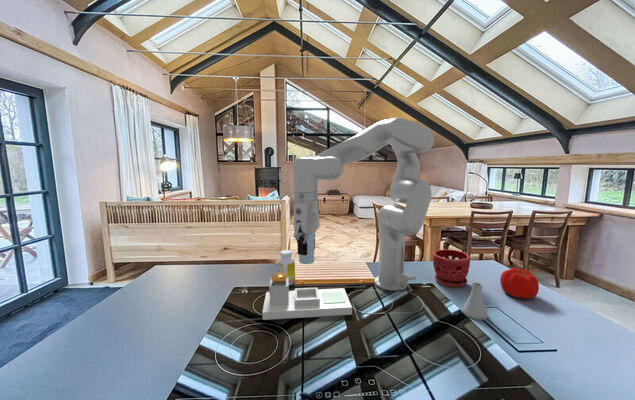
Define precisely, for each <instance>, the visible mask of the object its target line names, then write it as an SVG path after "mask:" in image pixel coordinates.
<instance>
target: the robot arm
mask: <svg viewBox="0 0 635 400" xmlns="http://www.w3.org/2000/svg"><path fill="white" fill-rule="evenodd" d="M434 143H435V138H434V134H433V132H432V131H431V130H430V129H429V128H428V127H425V126H423V125H421V124H418V123H416V122H414V121H412V120H409V119H407V118H403V117H392V118H389V119H383V120H380V121H378V122H376V123H373V125H371V126H369V127H367V128H365V129H364V130H362V131H361V132H359V133H357V134H356V135H354V136H352V137H351V138H347V139H346V140H344V141H342V142H340V143H338V144H336V145H334V146H332V147H329V148H327V149H325V150H324V151H322V152H320V153H319V154H318V155H316V156H314V157H307V156H306V157H296V158H294V160H293V165H292V171H293V202H294V206H293V231H294V232H293V237H294V238H295V240H296V243H297V254H298V256H299V255H307V243H306V237H307V235H308V234H310V233H312V232H314V250H315V249H316V235H317V234H316V232H317V230H318V229H319V228H320V210H319V203H318V201H319V200H318V199H319V195H318V188H319V187H318V180H323V181H324V180H325V181H335V180H337V179H339V178H340V177H341V176H342V174H343V172H344V165H346V164H347V165H348V164H351V163H357V162H359V161H363V160H365V159H367V158H368V157H370V156H372V155H373V154H375V153H376V152H378V151H380V150H381V149H382V148H384V147H385V146H388V145H390V146H391V149H392V151H393V152H394V154H395V157H396V161H397V164H396V165H397V166H396V170H395V173H394V176H393V180H392V182H391V186H390V189H389V198H390V199H391V200H392V201H394V202H396V203H400V204H405V206H400V205H396V204H386V205H384V206H381V208H380V209H379V210H378V213H377V224H378V230H379V245H378V246H379V248H378V250H379V252H378V275H377V276H376V277H375V278H374V285H375V286H376V287H377V288H380V289H381V290H385V291H390V292H400V291H404V290H406V289H407V287H408V281H416V280H417V279H416V277H417V276H416V275H415V274H410V273H409V272H406V273H404V272H405V269H404V268H405V252H406V250H405V249H406V248H405V247H406V240H405V239H406V238H405V235H406V236H415V235H417V234H418V233H420V230H421V229H422V227H423V225H424V222H425V219H426V216H427V212H428V210H429V206H430V203H431V200H432V196H433V195H432V188H431V185H430V184H429V183H428V182H427V181H426V180H424V179H418V178H419V175H420V171H421V164H420V160H419V158H418V156H417V154H421V153H426V152H428V151H429V150H431V148H432V147H433V146H434ZM300 231H303V233H300ZM300 235H304V236H303V237H302V236H300Z"/></svg>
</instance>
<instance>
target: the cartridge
mask: <svg viewBox="0 0 635 400" xmlns="http://www.w3.org/2000/svg"><path fill="white" fill-rule="evenodd" d="M300 233H303V231H300ZM300 236H302V237H303V236H304V235H300ZM306 243H307V255H299V254H298V262H299V263H300V264H303V265H310V264H313V263H314V262H315V249H314V232H312V233H310V234H308V235H307V237H306Z"/></svg>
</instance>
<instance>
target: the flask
mask: <svg viewBox="0 0 635 400" xmlns="http://www.w3.org/2000/svg"><path fill="white" fill-rule="evenodd" d="M470 286H471V290H470V291H471V292H470V295H469V296H468V298H467V300H466V302H465V304H464V306H463V307H462V309H461V312H462V313H463V314H464V315H465V316H466V317H469V318H471V319H474V320H487V319H488V312H487V311H488V310H487V308H486V305H485V301H484V299H483V294H482V289H483V287H484V284H482V283H480V282H475V281H472V282H471V284H470Z"/></svg>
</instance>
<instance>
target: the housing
mask: <svg viewBox="0 0 635 400" xmlns="http://www.w3.org/2000/svg"><path fill="white" fill-rule="evenodd" d="M268 287H269V291H266V293H265V298H264V302H263V307H262V314H261V315H262V320H264V321H267V320H268V321H269V320H270V321H271V320H284V319H285V320H286V319H299V318H300V319H301V318H317V317H334V316H335V317H336V316H349V315H350V316H351V315H353V306H352V304H351V302H350V300H349V299H350V298H349V297H348V294H347V292H346V289H345V288H344V287H343V288H341V287H340V288H337V287H336V288H321V289H320V288H319V289H318V287H303V288H302V287H301V288H294V290H290V285H289V278H287V279H286V281H285V285H274V282H273V281H272V278H270V281H269V286H268Z"/></svg>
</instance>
